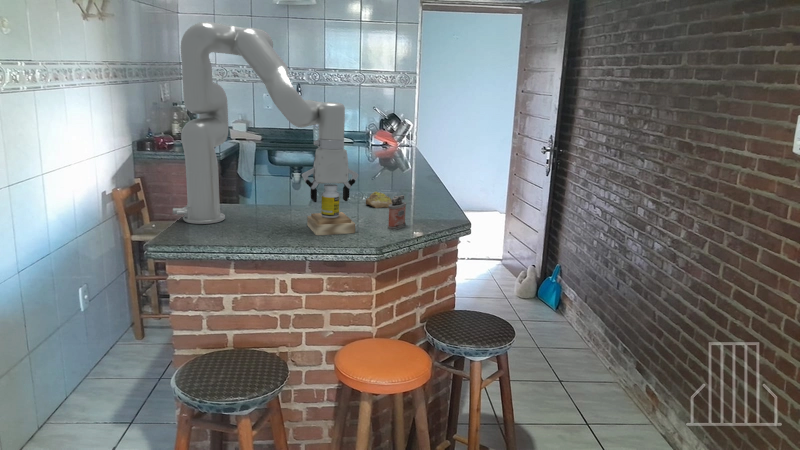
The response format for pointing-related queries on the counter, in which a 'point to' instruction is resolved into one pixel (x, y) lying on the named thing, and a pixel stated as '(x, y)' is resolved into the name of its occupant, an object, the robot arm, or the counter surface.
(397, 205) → the lighter
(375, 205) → the rock
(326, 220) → the plinth
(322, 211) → the supplement bottle
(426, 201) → the counter surface
